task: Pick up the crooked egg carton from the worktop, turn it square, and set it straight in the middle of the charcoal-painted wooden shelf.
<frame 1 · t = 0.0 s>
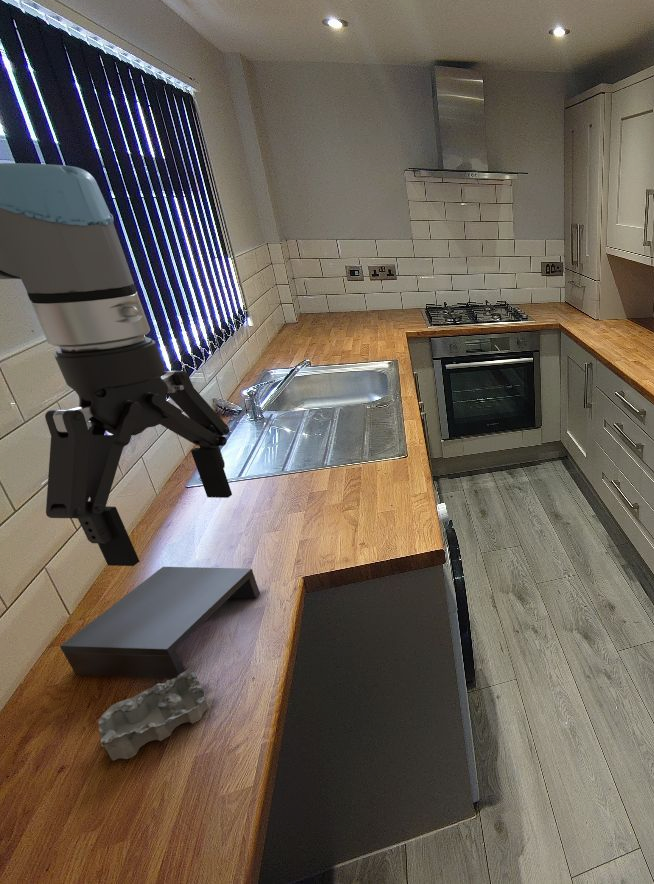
hand: (177, 526, 59), 29 cm above the countertop, tool pointing down, fingers open, 13 cm apart
egg carton: (160, 723, 69), on the countertop
shelf: (176, 630, 84), on the countertop
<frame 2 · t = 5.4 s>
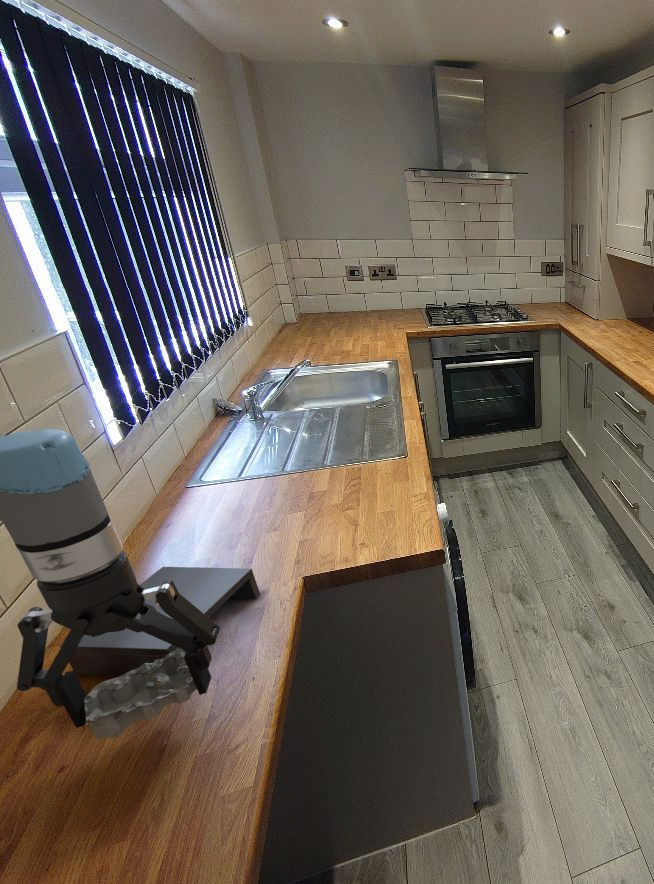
hand: (147, 701, 68), 4 cm above the countertop, tool pointing down, fingers closed on egg carton, 12 cm apart
egg carton: (147, 703, 68), point 3 cm above the countertop, touching gripper
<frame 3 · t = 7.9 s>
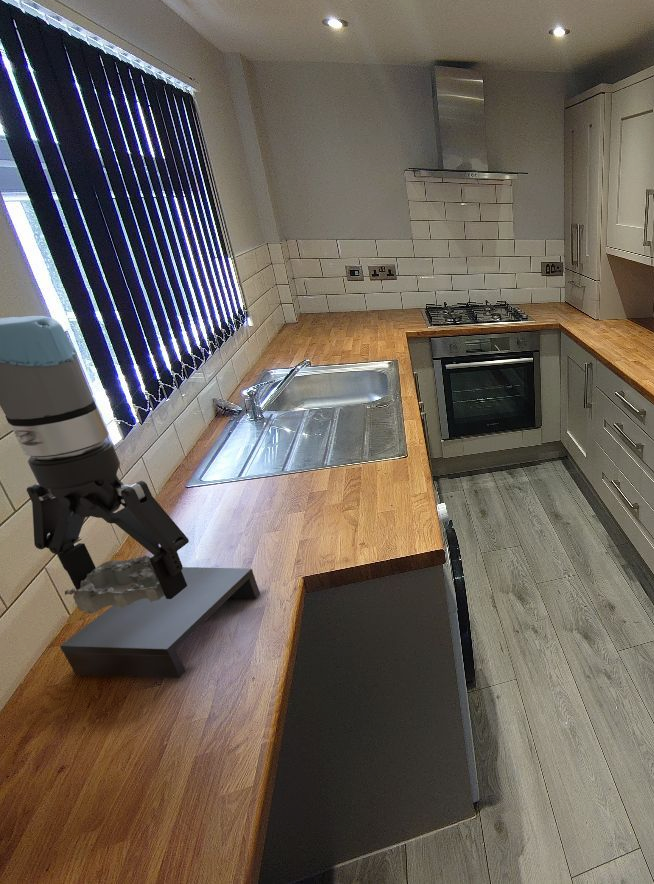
hand: (133, 590, 72), 14 cm above the countertop, tool pointing down, fingers closed on egg carton, 12 cm apart
egg carton: (134, 592, 72), point 14 cm above the countertop, touching gripper
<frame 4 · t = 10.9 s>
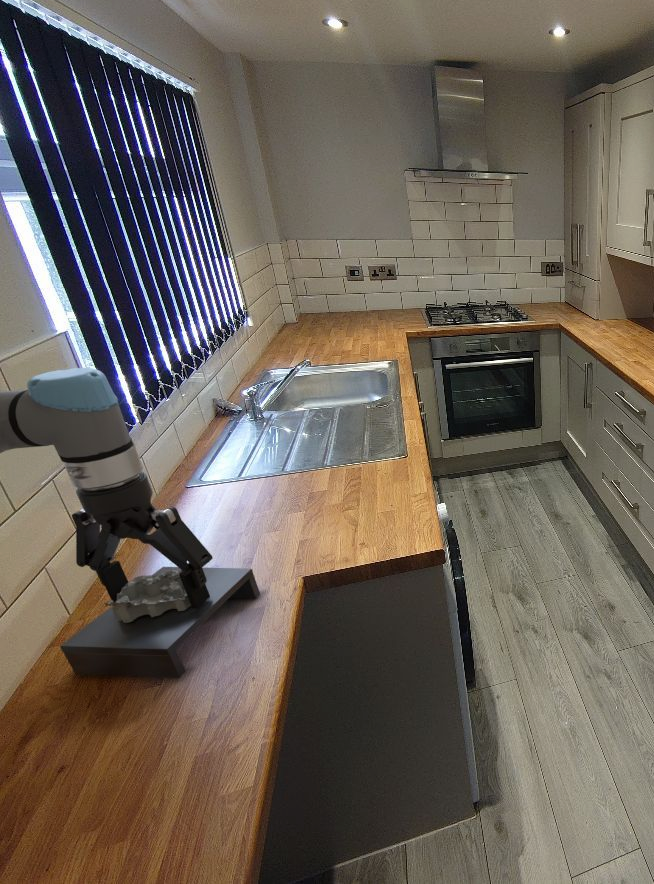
hand: (162, 601, 82), 6 cm above the countertop, tool pointing down, fingers closed on egg carton, 12 cm apart
egg carton: (163, 603, 82), point 6 cm above the countertop, touching gripper
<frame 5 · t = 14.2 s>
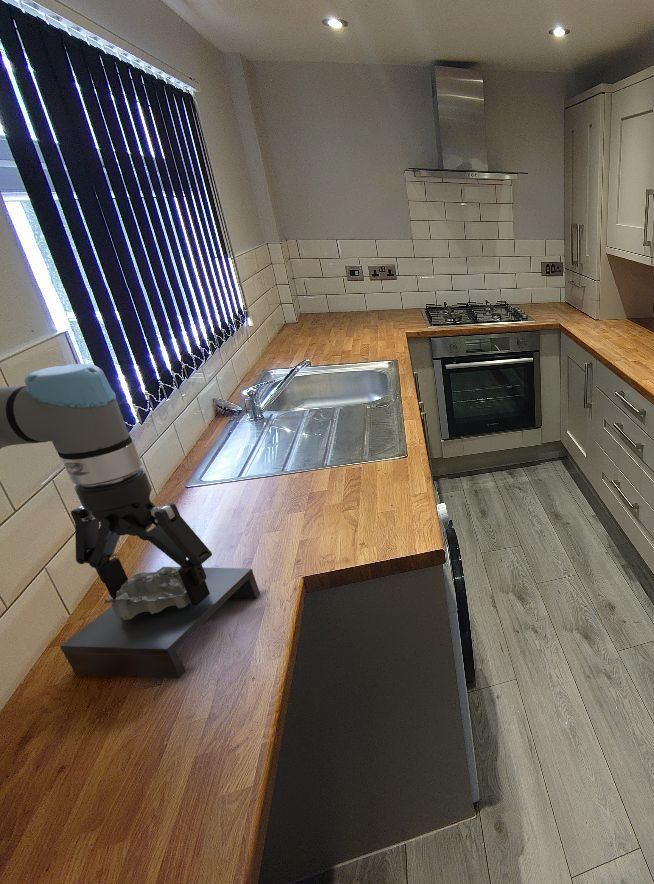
hand: (162, 598, 82), 6 cm above the countertop, tool pointing down, fingers closed on egg carton, 12 cm apart
egg carton: (163, 600, 82), point 6 cm above the countertop, touching gripper
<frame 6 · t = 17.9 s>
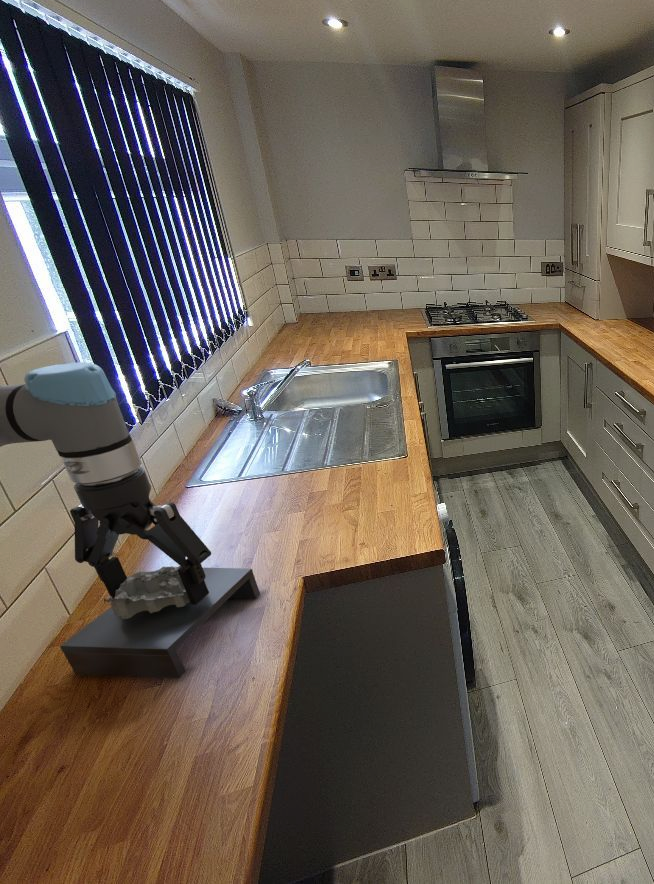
hand: (161, 597, 82), 7 cm above the countertop, tool pointing down, fingers closed on egg carton, 12 cm apart
egg carton: (162, 599, 82), point 6 cm above the countertop, touching gripper
when the fingers open (7 cm above the countertop, at t = 20.7 s): egg carton stays where it is, resting on shelf.
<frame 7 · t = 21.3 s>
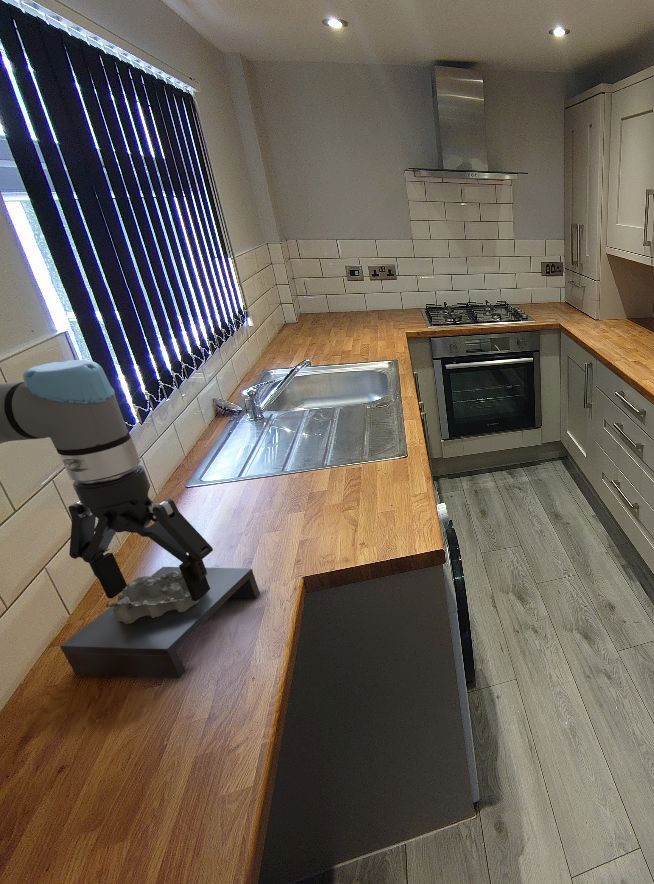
hand: (159, 594, 81), 7 cm above the countertop, tool pointing down, fingers open, 13 cm apart
egg carton: (164, 604, 82), point 5 cm above the countertop, touching shelf
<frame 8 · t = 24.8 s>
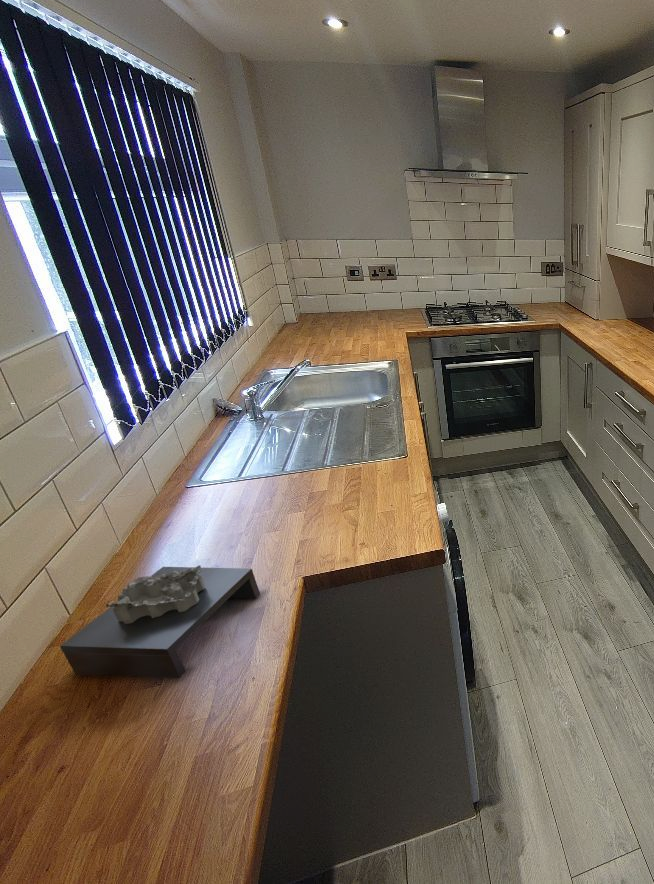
nothing on the countertop moved.
at the end: egg carton inside the target area on the shelf (0.2 cm from its centre), point 5.3 cm above the shelf's base; egg carton tilted 0°; the gripper is holding nothing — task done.
